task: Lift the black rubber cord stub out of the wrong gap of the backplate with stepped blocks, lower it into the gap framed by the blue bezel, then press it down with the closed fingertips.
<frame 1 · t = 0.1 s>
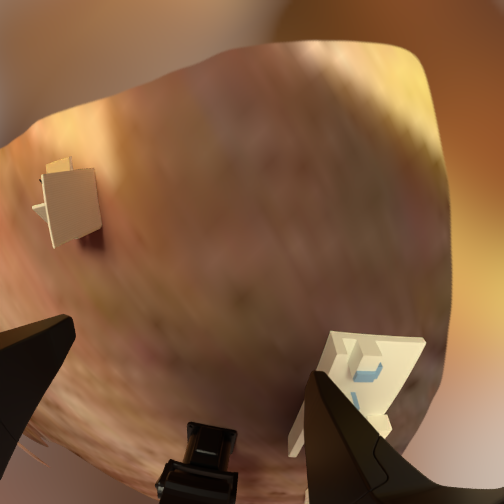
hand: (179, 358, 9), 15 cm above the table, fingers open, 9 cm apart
cord stub: (348, 422, 28), point 1 cm above the table, touching backplate with stepped blocks
architectural model: (93, 198, 23), on the table
white cup: (322, 488, 37), on the table
backplate with stepped blocks: (351, 396, 27), on the table
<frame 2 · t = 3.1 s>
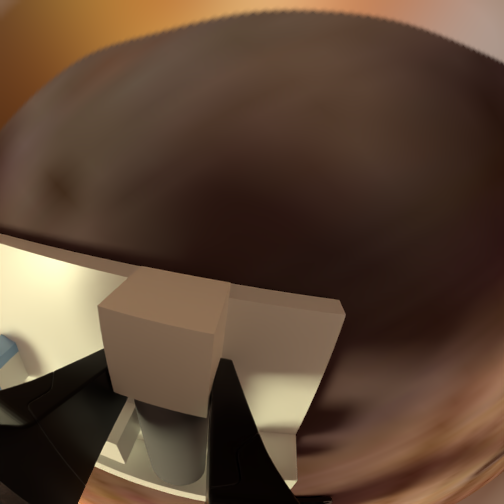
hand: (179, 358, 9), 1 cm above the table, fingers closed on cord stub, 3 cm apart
cord stub: (181, 389, 10), point 1 cm above the table, touching backplate with stepped blocks, gripper
backplate with stepped blocks: (108, 365, 11), on the table
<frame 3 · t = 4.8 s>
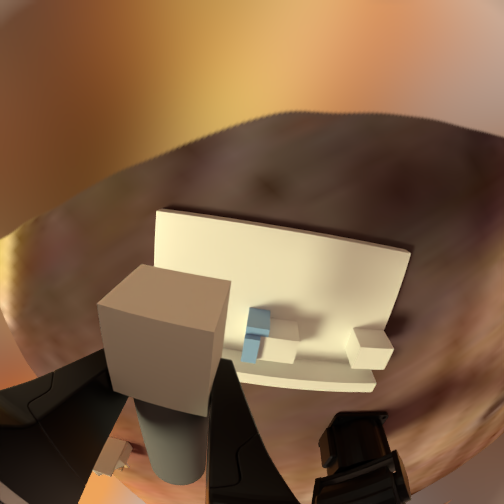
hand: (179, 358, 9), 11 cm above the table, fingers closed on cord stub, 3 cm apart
cord stub: (181, 388, 10), point 11 cm above the table, touching gripper
architectural model: (116, 438, 31), on the table
backplate with stepped blocks: (275, 299, 20), on the table
when the fingers open (2 cm above the table, at t = 6.6 s): cord stub stays where it is, resting on backplate with stepped blocks.
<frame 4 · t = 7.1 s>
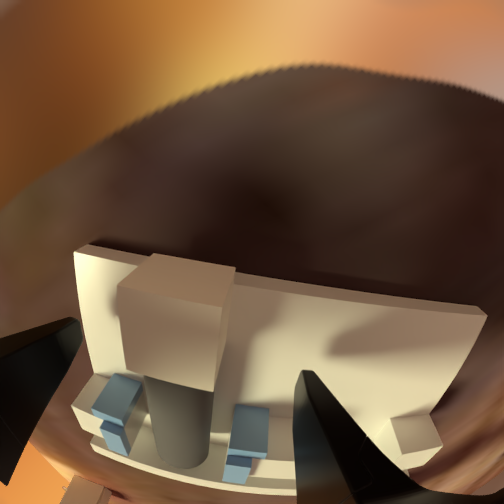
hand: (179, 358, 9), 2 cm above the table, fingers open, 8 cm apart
cord stub: (187, 372, 10), point 1 cm above the table, touching backplate with stepped blocks
architectural model: (94, 480, 22), on the table
backplate with stepped blocks: (277, 388, 12), on the table
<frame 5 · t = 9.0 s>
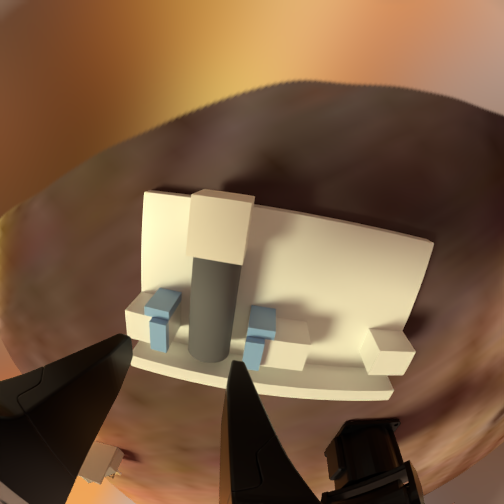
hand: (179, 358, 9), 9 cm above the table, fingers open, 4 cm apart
cord stub: (218, 276, 16), point 1 cm above the table, touching backplate with stepped blocks
architectural model: (107, 443, 28), on the table
backplate with stepped blocks: (281, 296, 18), on the table
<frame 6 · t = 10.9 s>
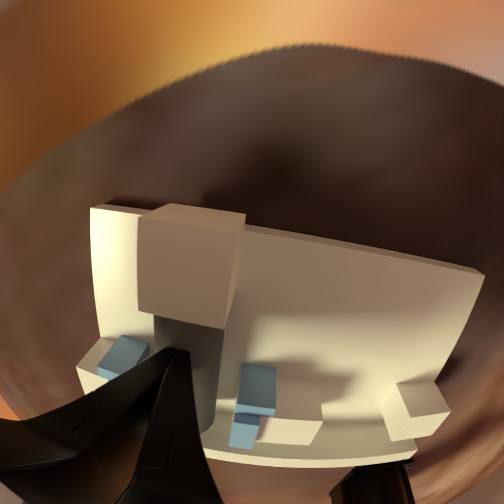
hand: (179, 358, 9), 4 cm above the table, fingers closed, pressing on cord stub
cord stub: (196, 327, 11), point 1 cm above the table, touching backplate with stepped blocks, gripper
backplate with stepped blocks: (284, 348, 12), on the table
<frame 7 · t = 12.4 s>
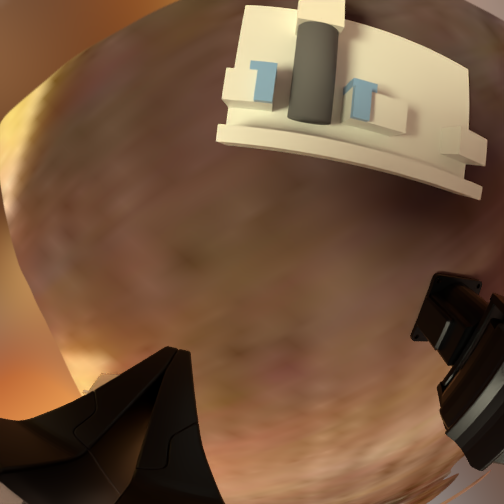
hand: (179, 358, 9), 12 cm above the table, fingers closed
cord stub: (313, 62, 15), point 1 cm above the table, touching backplate with stepped blocks
architectural model: (125, 377, 26), on the table
backplate with stepped blocks: (364, 92, 16), on the table
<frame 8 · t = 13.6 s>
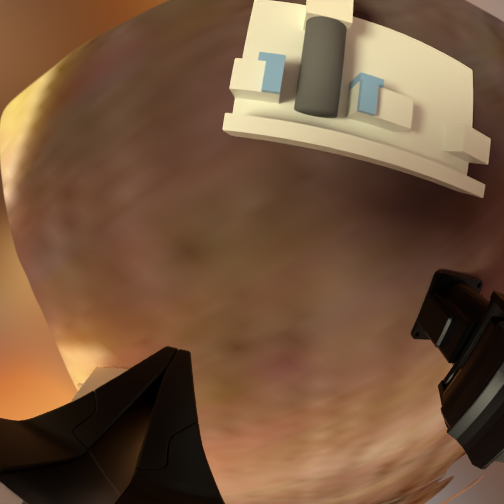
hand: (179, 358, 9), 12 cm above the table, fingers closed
cord stub: (320, 56, 14), point 1 cm above the table, touching backplate with stepped blocks
architectural model: (121, 371, 26), on the table
backplate with stepped blocks: (370, 88, 16), on the table
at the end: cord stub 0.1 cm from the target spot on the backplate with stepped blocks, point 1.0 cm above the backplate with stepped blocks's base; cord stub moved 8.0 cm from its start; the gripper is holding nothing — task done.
